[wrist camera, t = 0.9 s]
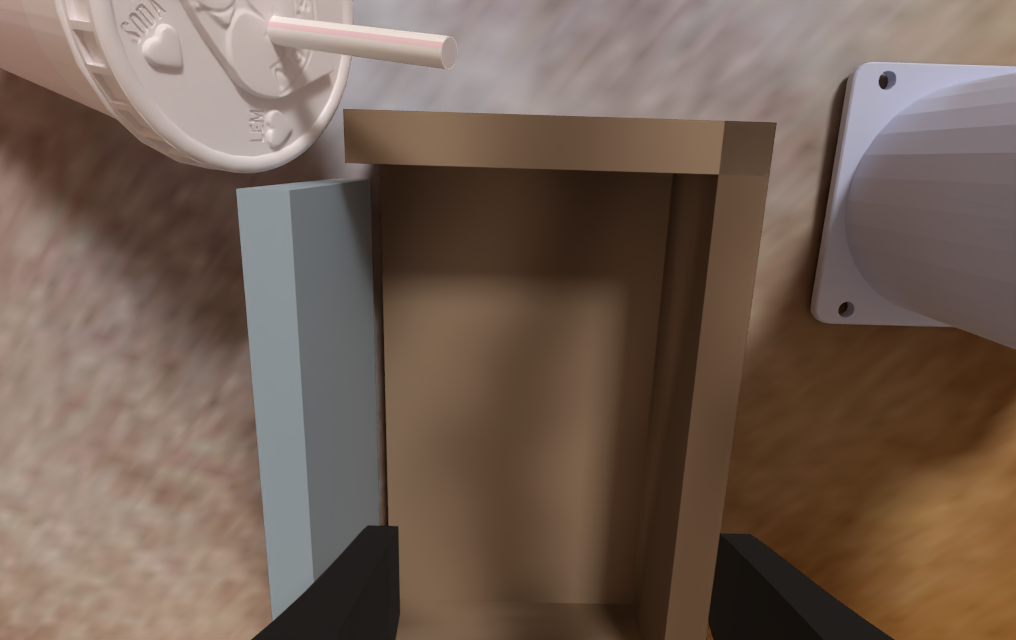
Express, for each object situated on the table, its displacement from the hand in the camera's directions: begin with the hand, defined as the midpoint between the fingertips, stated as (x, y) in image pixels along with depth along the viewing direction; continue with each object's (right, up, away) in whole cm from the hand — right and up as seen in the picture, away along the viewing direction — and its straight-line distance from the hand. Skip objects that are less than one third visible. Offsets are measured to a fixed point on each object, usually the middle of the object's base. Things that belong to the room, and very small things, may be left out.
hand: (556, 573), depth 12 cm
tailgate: (-5, +2, +8) cm, 10 cm away
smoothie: (-15, +14, +4) cm, 21 cm away
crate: (0, +2, +9) cm, 9 cm away
